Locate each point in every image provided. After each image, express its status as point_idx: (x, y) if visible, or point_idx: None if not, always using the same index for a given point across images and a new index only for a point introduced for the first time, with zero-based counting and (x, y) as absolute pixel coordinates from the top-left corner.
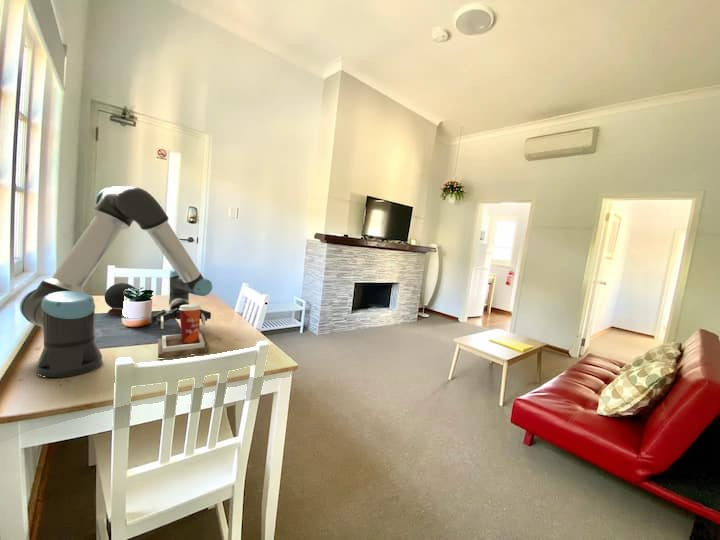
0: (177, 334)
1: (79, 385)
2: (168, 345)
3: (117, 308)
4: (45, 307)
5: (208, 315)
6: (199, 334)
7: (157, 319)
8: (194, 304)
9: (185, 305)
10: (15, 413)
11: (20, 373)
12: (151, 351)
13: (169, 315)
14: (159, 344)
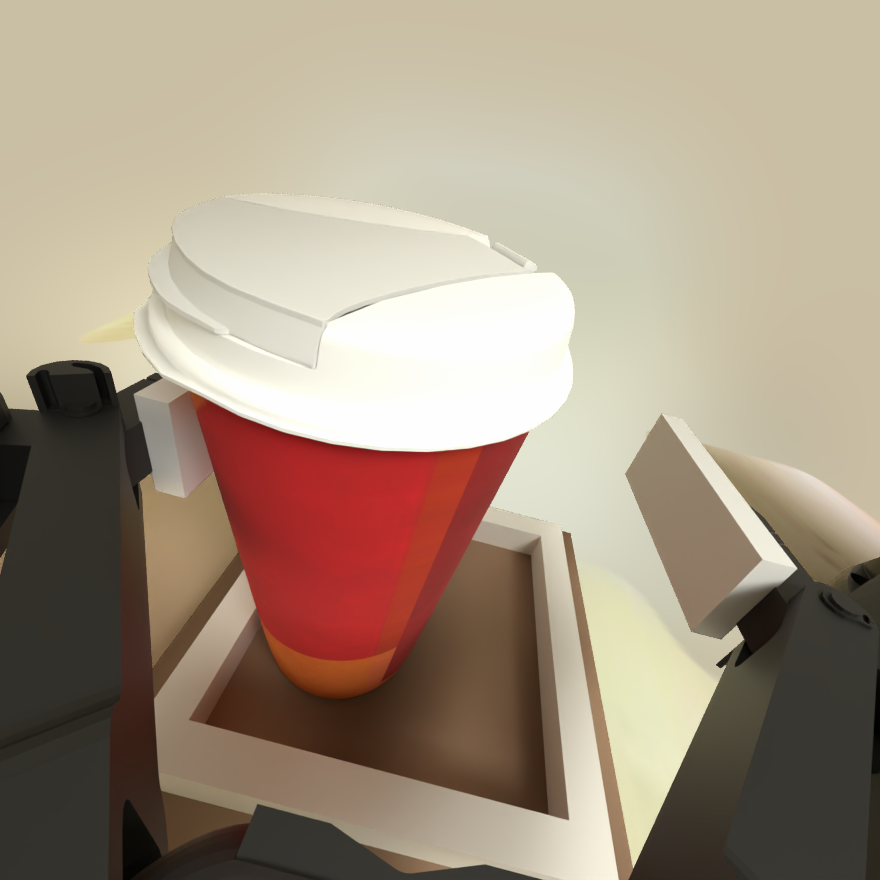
0: (425, 835)
1: (759, 511)
2: (520, 638)
3: None
4: None
5: (32, 425)
6: (206, 660)
7: (782, 544)
8: (224, 256)
9: (469, 291)
10: (798, 470)
11: None
12: (624, 722)
13: (719, 775)
14: (592, 708)
